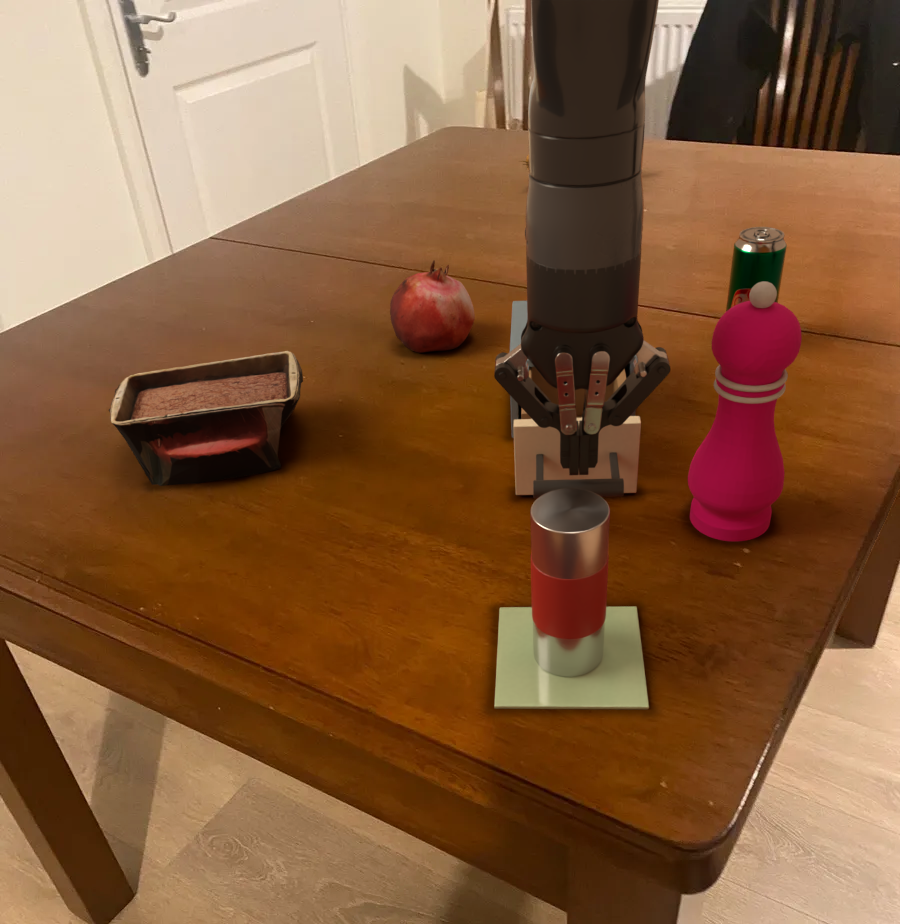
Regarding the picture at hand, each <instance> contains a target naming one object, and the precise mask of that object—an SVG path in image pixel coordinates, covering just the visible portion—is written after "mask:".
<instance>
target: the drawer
mask: <svg viewBox="0 0 900 924" xmlns="http://www.w3.org/2000/svg"><path fill="white" fill-rule="evenodd" d="M529 377H530V378H531V379H532V380H533V381H534V383H535V384H536V385H537V386H538V387H539V388H540V389H541V390H542V391H543V393H544V394H545V395H546V396H547V397H548V398H549V399H550V400H551V402H552V403H554V404H558V405H559V402H558V390H557V388H554V387H552V386H551V385H550V384H548V382H547V381H546V380H545V379H544V378H543V376H542V375H541V374H540V373H539V372H538V370H537V369H536V368H535V367H529ZM625 380H626V374H625V369H624V370H623V371H622V372H621V373H620V375H619V376H618V377H617V378H616V380H615V381H614V382H613V383H611V384H610V385H608V386H606V391H605V399H604V402H606V401H607V400H608V399H609V398H610V397H611V395H612V394H613V393H614V392H615V391H616V390H617V389H618V388H619V387H620V385H621V384H622V383H623V382H624V381H625ZM584 393H585V389H578V390H575V403H576V418H577V421H578V423H579V421H580V420H582V412H583V402H584ZM521 417H522V419H515V420H514V438H513V448H514V449H513V453H514V455H513V456H514V480H515V481H514V483H515V495H516V496H533V497H532V498H533V499H538V498H539V497H540V496H542V495H543V494H545V493H548V492H550V491H554V490H558V489H567V488H574V489H583V490H587V491H590V492H593V493H595V494H597V495H599V496H601V497H602V498H604V497H605V498H606V497H607V498H608V497H612V498H613V497H614V498H615V497H624V494H636V493H637V490H638V473H639V459H640V446H641V445H640V444H641V429H642V420H641V416H640V415H635V416H631V415H630V416H629V418H628V419H627V420H626V421H625V422H624V423H623V424H622V425H620V426H612V425H608V426H605V427H603V428H602V429H601V430H600V432H599V440H598V462H597V464H596V466H595V468H589V470H588V475H569V468H567V469H563V468H562V465H561V463H560V432H559V431H558V430H557V429H555V428H553V427H547V428H541V427H539V426H538V425H537V424H536V423H535V422H534V421H533V419H532V418H531V417H530V416H529V415H528V414H527V413H526V412H525V411H524V410H523V409H522V411H521Z"/></svg>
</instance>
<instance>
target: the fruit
mask: <svg viewBox="0 0 900 924" xmlns="http://www.w3.org/2000/svg"><path fill="white" fill-rule="evenodd" d="M435 265H436V260H435V259H433V261H432V262H431V265H430V267H429V271H428V272H417V273H414V274H412V275H409V276H407V277H406V278H404V279H403V281H402V282H401V283H400V284H399V285H398V287H397V289H396V290H395V291H394V293H393V295H392V296H391V299H390V303H389V306H390V307H389V315H390V323H391V325H392V328H393V331H394V334H395V336H396V337H397V339H398V340H399V341H400V342H401V344H403V345H404V347H406V348H407V350H408V349H409V350H410V351H413V352H415V353H419V354H420V353H421V354H422V353H429V352H430V353H431V352H443V351H444V352H445V351H451V350H455V349H457V348H458V347H460V346H461V345H462V344H463V343H464V342H465V340H466V339H467V337H468V336H469V334H470V333H471V331H472V328H473V325H474V323H475V319H476V316H475V310H474V309H475V308H474V305H473V302H472V301H473V300H472V299H471V296H470V295H469V292H468V290H467V289H466V287H465V285H464V284H463V283H462V282H461V281H460V280H457V279H456V278H453V277H452V276H449V275H448V273H449V270H450V266H449V264H447V266H446V267H445V268H444V271H443V268H442V267H439V268H435Z"/></svg>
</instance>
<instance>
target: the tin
mask: <svg viewBox="0 0 900 924" xmlns="http://www.w3.org/2000/svg"><path fill="white" fill-rule="evenodd" d="M529 513H530V551H531V554H530V589H531V592H530V593H531V607H532V619H533V653H534V658H535V660H536V662H537V664H538V665H539V666H540V667H541V668H542V669H544V670H545V671H547V672H549V673H551V674H553V675H557V676H562V677H576V676H581V675H585V674H587V673H589V672H591V671H593V670H594V669H595V668H597V667H598V665H599V664H600V663H601V661H602V659H603V652H604V630H605V619H606V607H607V604H608V603H607V601H608V600H607V599H608V582H609V579H608V578H609V559H610V557H609V555H610V554H609V541H610V522H611V508H610V505H609V504H608V502H607V500H605V498H604V497H601V496H599V495H597V494H595V493H593V492H590V491H587V490H583V489H574V488H567V489H558V490H554V491H550V492H548V493H545V494H543V495H542V496H540V497H539V498H535V500H534V501H533V504H531V507H530V512H529Z"/></svg>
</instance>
